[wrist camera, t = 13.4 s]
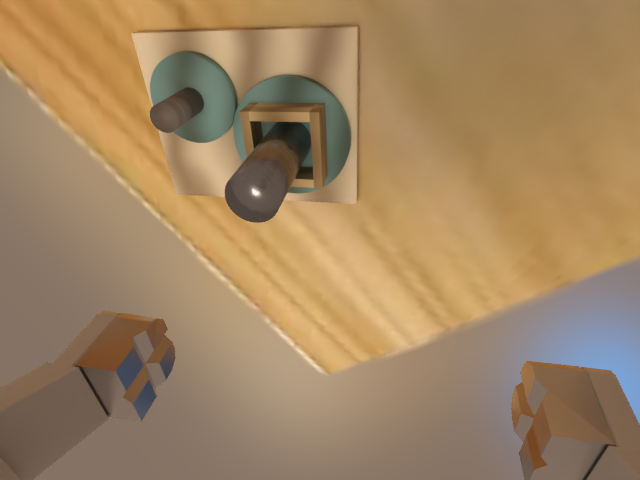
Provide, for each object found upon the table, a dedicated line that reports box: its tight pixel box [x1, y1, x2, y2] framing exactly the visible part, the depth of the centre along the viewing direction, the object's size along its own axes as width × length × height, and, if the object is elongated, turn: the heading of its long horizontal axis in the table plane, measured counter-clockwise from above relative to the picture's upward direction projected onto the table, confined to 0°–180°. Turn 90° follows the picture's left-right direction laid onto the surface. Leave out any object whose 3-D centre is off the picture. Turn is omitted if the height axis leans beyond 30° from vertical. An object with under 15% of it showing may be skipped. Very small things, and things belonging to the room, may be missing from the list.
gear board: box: [131, 25, 359, 204], centre depth 37 cm, size 20×16×7 cm
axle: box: [225, 122, 311, 222], centre depth 33 cm, size 4×4×11 cm
